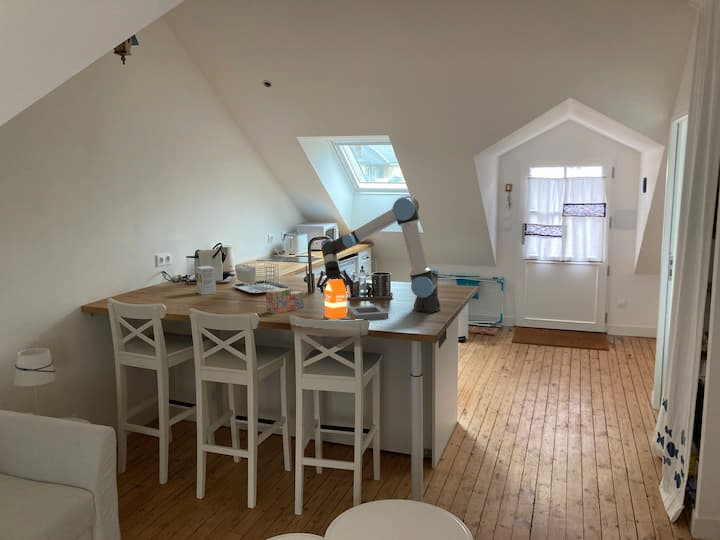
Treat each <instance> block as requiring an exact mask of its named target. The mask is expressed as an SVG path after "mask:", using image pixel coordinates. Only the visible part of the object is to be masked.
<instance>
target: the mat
mask: <svg viewBox="0 0 720 540" xmlns="http://www.w3.org/2000/svg"><path fill="white" fill-rule="evenodd" d="M323 317H324V318H325V320H327V319H330V318H328V317H325V314H323ZM337 319H350V320H351V318H350V316H348V315H347V314H346V317H343V318H337Z"/></svg>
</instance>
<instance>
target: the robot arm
mask: <svg viewBox="0 0 720 540" xmlns="http://www.w3.org/2000/svg"><path fill="white" fill-rule="evenodd" d="M419 210H420V204H419V202H418V200H417V199H416V198H415V197H413V196H409V195H407V196H401V197H400V198H397V199H396V200H395V202H394V203H393V205H392V208H391V209H389V210H388V211H386V212H384V213H382V214H381V215H379V216H377V217H375V218H374V219H372V220H369V221H368V222H366V223H365V224H363V225H362V226H360V227H358V228H357V229H355V230H353V231H352V232H350V233H345V234H344V235H342V236H340V237H339V238H336V239H334V240H333V239H332V238H328V239H324V240H322V241H321V243H320V245H321V253H322V258H323V264H324V270H325V271H323V270H321V271H320V275H319V278H318V280H317V283H316V288H317V289H318V288H319V290H320V294H322V295H323V300H325V298H326V294H325V288H326V287H325V285H327V283H328V281H329V280H338V279H342V280H343V283H344V286H345V287H346V292H347V295H348V298H349V299H351V296H352V294H351V292H352V287H353V286H354V285H355V283H354V281H353V280H352V278H351V277H350V275H348V273H347V271H346V269H343V270H342V271H341V270H340V267H339V261H338V260H339V259H338V256H337V255H338V254H340V253H342V252H344V251H346V250H348V249H352V248H354V247H355V246H357V245H359V244H360V243H361V242H363V241H365V240H367V239H369V238H370V237H372V236H375V235H376V234H378V233H379V232H382V231H383V230H385V229H387V228H388V227H390V226H392V225H394V224H395V223H397V225H398V226H400V228H401V231H402V236H403V239H404V242H405V247H406V251H407V256H408V257H407V258H408V261H409V264H410V269H411V271H410V273H409V277H410V282H411V285H410V289H411V291H412V293H413V295H415V299H414V300H415V301H414V303H413V311H415V310H416V312H419V311H422V312H421V313H436V312H435V311H437V312H440V311H441V310H442V309H441V308H442V307H441V303H440V300H439V297H438V295H439V292H438V291H439V271H438V270H437V269H433V268H432V269H431V268H430V267H429V266H428V264H427V260H426V254H425V251H424V247H423V244H422V238H421V233H420V231H419V225H418V222H419V221H420V217H419V212H418V211H419ZM324 276H326V277H325V278H324V280H323V281H322V279H323V277H324ZM440 309H441V310H440ZM439 310H440V311H439Z"/></svg>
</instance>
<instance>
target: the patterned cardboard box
mask: <svg viewBox="0 0 720 540" xmlns="http://www.w3.org/2000/svg"><path fill="white" fill-rule="evenodd" d="M265 293H266V296H265V300H266V301H265V302H266V313H269V314H272V315H276V314H281V313H287V312H290V311H296V310H298V309H299V310H300V309H304V308H305V307H304V302H305V301H304V292H303V291H299V290H294V291H292V290H291V288H286V287H282V288H276V289H272V290H266V292H265Z"/></svg>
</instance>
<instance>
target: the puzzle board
mask: <svg viewBox="0 0 720 540" xmlns="http://www.w3.org/2000/svg"><path fill="white" fill-rule="evenodd" d="M346 314H348V315H349V317H351V318H352V319H353V320H354V319H369V321H370V320H372V319H374V320H381V319H380V318H388V319H389V312H388V311H387V310H385V309H384V308H382V307H381V306H380V305H367V306H351V307H347V306H346Z"/></svg>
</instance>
